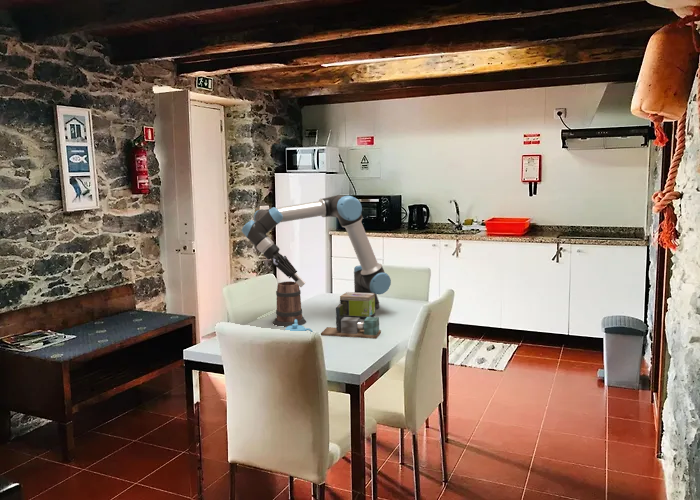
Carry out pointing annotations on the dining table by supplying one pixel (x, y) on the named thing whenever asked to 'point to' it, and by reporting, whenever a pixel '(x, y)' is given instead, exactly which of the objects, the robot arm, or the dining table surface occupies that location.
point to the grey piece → (340, 316)
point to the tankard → (288, 304)
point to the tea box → (358, 305)
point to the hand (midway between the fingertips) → (303, 285)
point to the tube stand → (355, 328)
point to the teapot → (297, 327)
